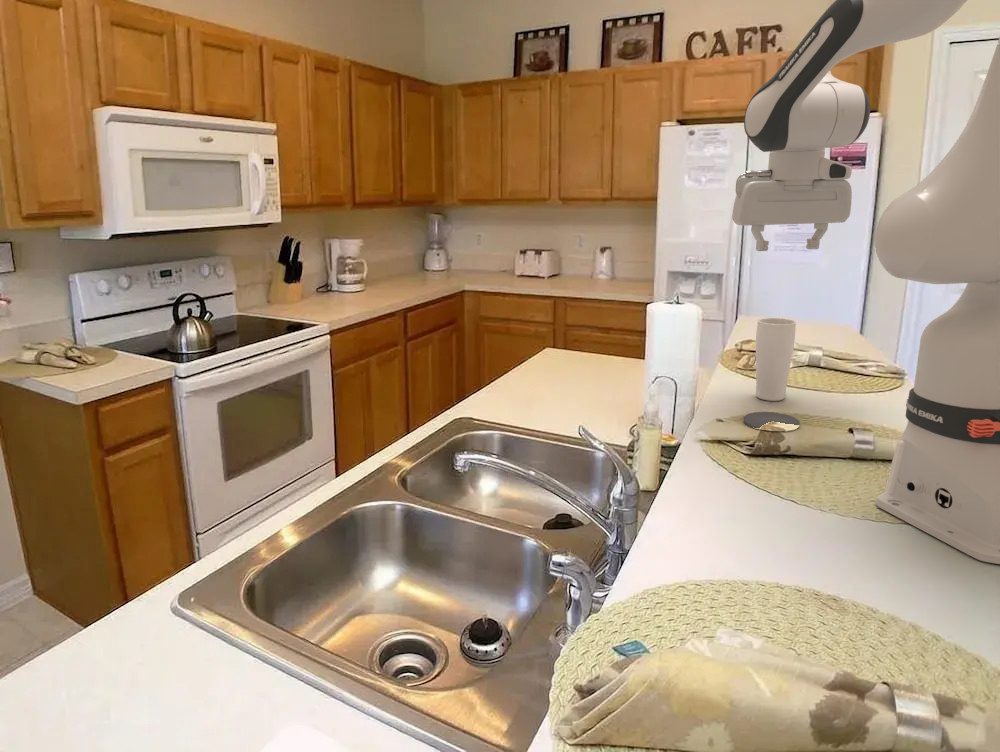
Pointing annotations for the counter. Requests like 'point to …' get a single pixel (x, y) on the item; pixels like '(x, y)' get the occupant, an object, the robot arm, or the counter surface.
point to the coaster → (768, 419)
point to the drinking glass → (773, 357)
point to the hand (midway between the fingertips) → (787, 250)
